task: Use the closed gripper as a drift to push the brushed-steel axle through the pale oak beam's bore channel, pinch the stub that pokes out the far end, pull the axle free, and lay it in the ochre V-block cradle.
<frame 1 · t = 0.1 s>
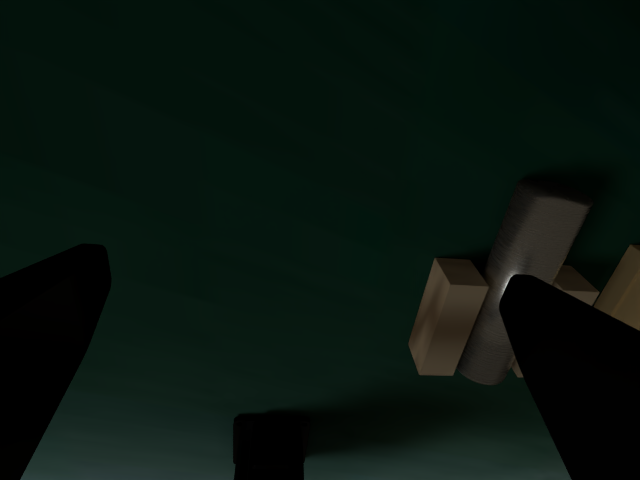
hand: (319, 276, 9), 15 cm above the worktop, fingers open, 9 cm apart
bore beam: (485, 306, 29), on the worktop
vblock: (625, 323, 31), on the worktop
axle: (511, 289, 26), point 2 cm above the worktop
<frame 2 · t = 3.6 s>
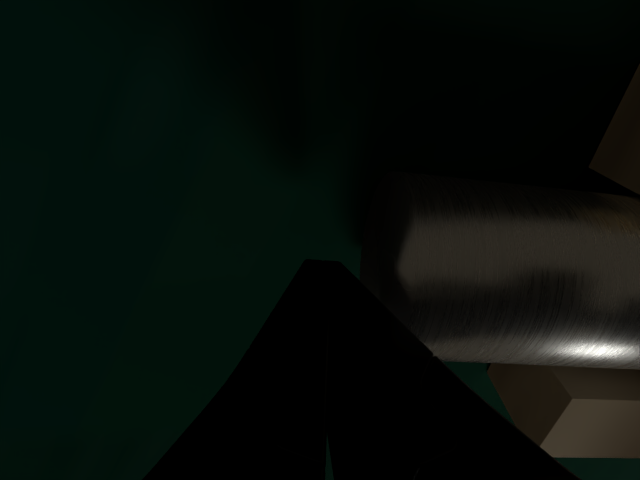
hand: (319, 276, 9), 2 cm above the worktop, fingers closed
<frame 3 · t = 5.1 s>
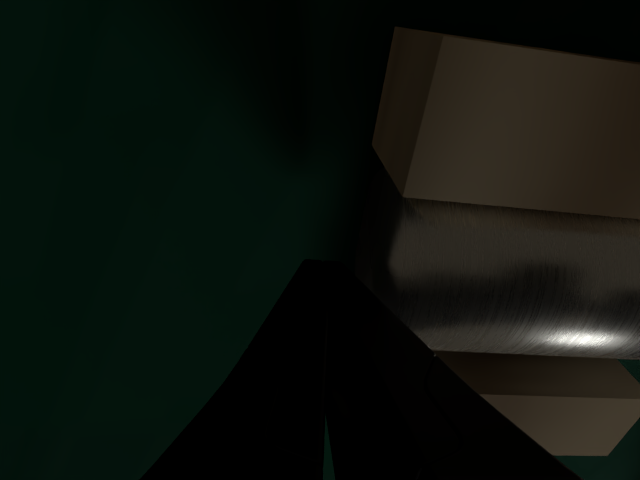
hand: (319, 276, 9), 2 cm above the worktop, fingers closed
bore beam: (492, 246, 11), on the worktop
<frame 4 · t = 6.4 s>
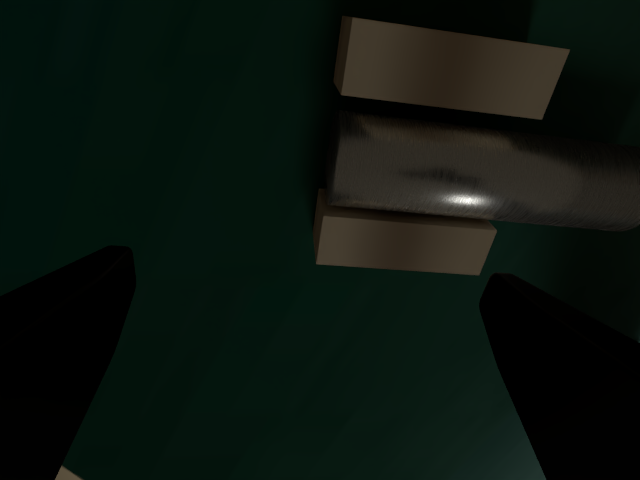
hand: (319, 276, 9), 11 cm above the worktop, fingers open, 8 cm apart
bore beam: (408, 147, 19), on the worktop
axle: (484, 174, 18), point 2 cm above the worktop, tilted 12°
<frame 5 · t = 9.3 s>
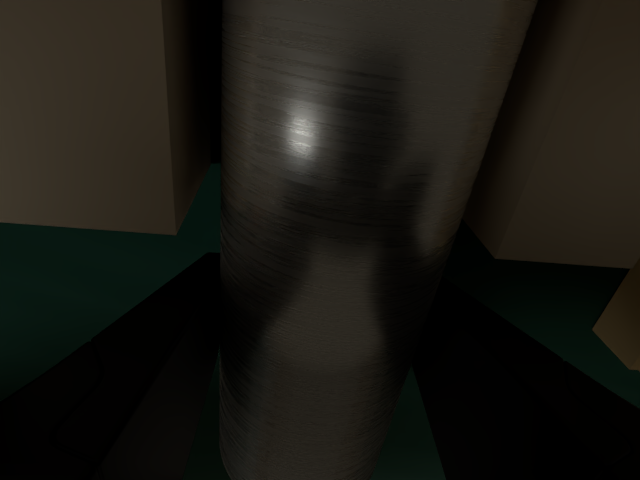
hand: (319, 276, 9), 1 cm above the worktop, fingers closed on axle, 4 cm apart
axle: (345, 168, 7), point 2 cm above the worktop, touching gripper
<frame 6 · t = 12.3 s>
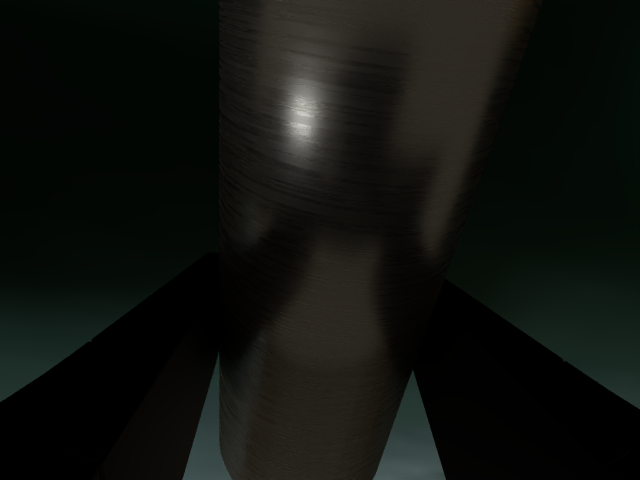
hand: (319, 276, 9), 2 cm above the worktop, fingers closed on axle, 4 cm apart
axle: (348, 156, 6), point 3 cm above the worktop, touching gripper
when the fingers open (5 cm above the worktop, at t = 15.8 s): axle drops 2 cm, resting on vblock.
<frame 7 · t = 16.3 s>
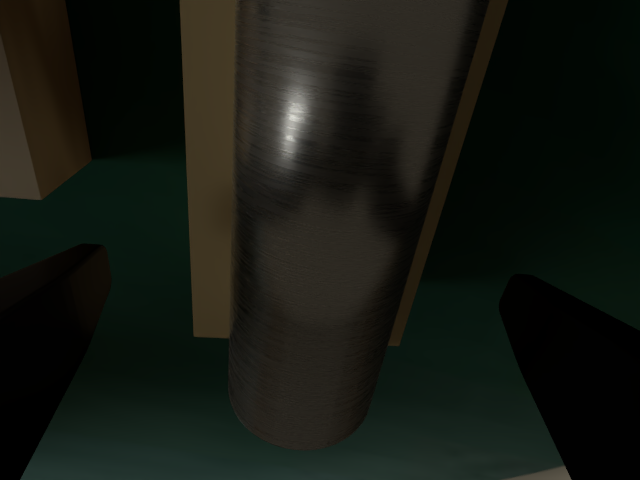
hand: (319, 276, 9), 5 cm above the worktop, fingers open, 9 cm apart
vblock: (320, 89, 12), on the worktop
axle: (338, 136, 8), point 5 cm above the worktop, touching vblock
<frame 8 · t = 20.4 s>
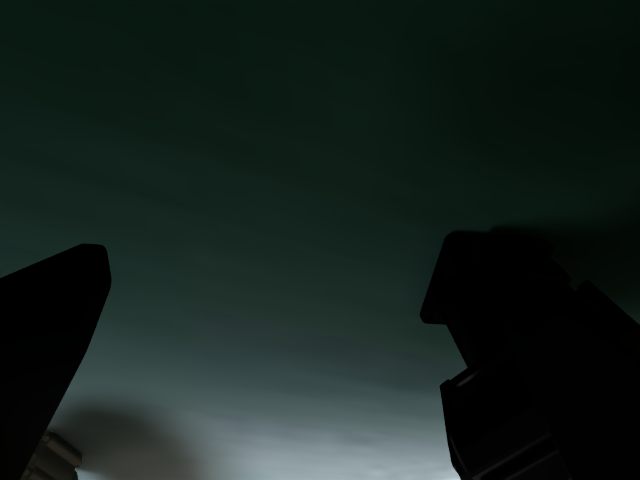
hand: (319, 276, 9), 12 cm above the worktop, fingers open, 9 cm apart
pneumatic valve: (57, 444, 30), on the worktop
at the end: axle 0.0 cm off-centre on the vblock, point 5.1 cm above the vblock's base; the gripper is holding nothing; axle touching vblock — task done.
